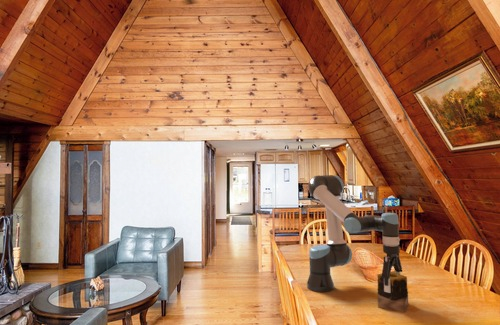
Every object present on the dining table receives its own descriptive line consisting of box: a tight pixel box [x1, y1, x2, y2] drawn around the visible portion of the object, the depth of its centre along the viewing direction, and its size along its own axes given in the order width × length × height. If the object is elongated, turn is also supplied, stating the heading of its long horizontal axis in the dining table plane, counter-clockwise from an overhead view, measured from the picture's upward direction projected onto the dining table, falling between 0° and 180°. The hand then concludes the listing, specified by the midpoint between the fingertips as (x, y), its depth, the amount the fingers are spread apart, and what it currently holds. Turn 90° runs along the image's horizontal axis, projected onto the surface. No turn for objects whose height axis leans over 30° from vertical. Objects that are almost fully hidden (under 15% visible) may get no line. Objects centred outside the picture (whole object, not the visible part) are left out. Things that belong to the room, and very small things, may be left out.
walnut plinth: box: [377, 294, 409, 313], centre depth 162 cm, size 12×12×5 cm
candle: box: [376, 271, 409, 300], centre depth 163 cm, size 10×10×10 cm
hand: (392, 288), depth 163 cm, fingers open, 13 cm apart
